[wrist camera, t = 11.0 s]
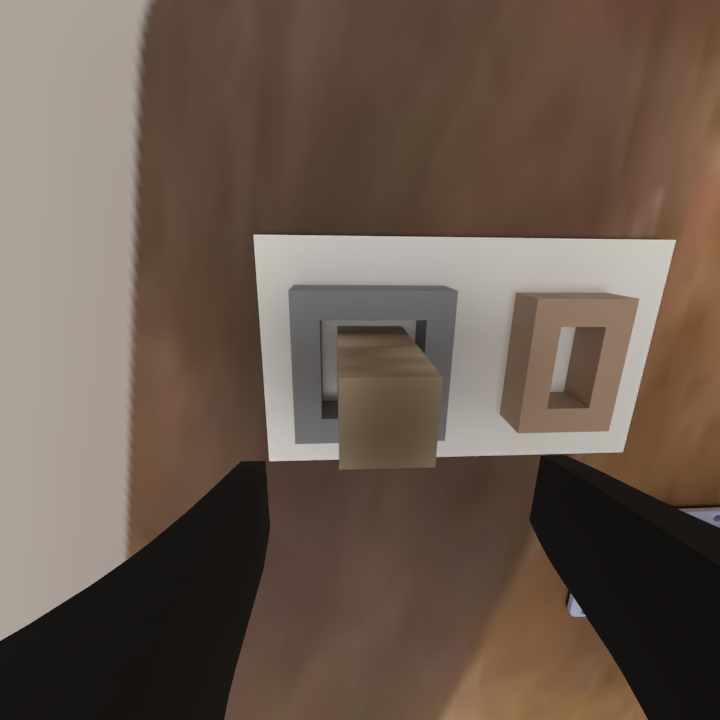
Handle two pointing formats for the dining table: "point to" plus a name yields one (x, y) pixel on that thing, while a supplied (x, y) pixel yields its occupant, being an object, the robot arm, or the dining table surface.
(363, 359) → the beech peg
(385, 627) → the dining table surface
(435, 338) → the socket board
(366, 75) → the dining table surface
